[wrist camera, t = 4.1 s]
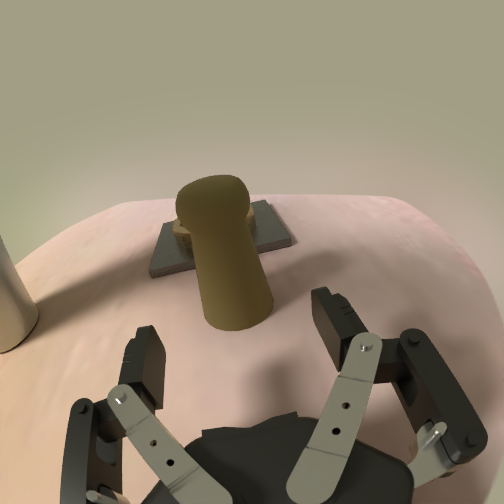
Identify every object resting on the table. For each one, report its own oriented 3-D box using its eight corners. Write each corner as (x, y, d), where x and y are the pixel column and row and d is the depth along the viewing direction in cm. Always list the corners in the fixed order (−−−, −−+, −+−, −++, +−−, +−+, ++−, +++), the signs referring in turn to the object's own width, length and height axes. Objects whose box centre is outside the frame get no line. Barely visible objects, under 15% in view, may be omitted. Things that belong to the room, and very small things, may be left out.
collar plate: (151, 278, 31) (142, 255, 29) (165, 229, 43) (159, 211, 41) (291, 245, 32) (288, 220, 30) (266, 205, 44) (263, 187, 42)
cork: (231, 279, 28) (204, 168, 23) (286, 293, 24) (267, 166, 19) (190, 317, 24) (147, 195, 18) (247, 340, 20) (210, 196, 15)
